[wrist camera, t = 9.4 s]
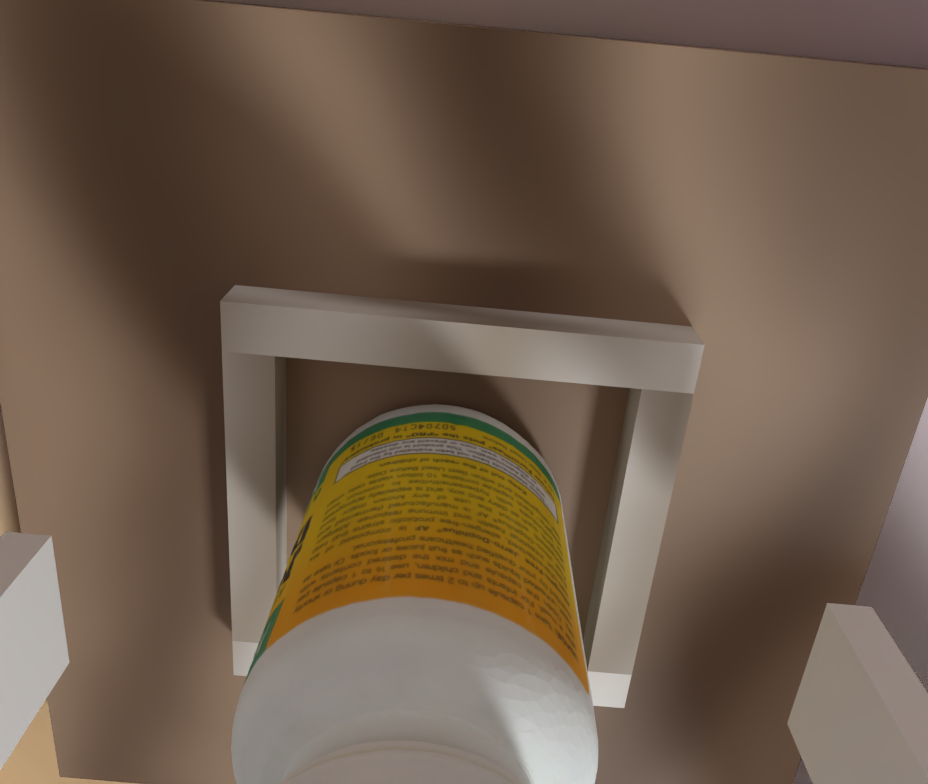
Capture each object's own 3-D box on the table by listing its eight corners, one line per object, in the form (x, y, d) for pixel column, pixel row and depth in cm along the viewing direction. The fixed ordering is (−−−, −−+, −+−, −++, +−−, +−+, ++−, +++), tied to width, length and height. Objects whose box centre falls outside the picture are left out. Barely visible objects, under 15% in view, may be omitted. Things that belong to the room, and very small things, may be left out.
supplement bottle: (570, 592, 19) (643, 1081, 10) (341, 614, 20) (228, 1103, 11) (548, 379, 17) (617, 776, 8) (290, 409, 17) (96, 819, 9)
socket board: (84, 732, 23) (41, 809, 21) (-19, -22, 16) (-106, -27, 13) (757, 788, 24) (786, 870, 21) (990, 74, 16) (1075, 85, 14)
